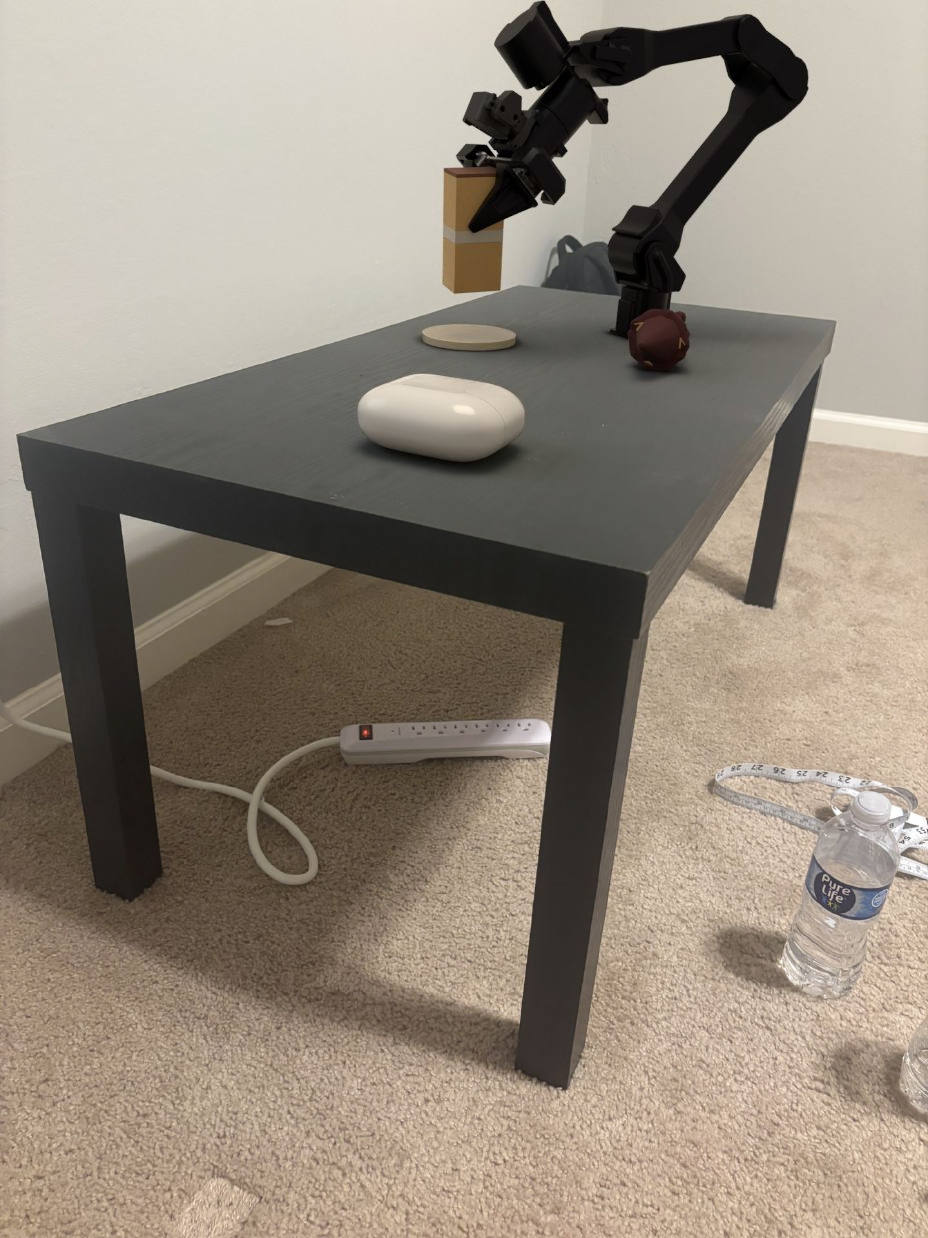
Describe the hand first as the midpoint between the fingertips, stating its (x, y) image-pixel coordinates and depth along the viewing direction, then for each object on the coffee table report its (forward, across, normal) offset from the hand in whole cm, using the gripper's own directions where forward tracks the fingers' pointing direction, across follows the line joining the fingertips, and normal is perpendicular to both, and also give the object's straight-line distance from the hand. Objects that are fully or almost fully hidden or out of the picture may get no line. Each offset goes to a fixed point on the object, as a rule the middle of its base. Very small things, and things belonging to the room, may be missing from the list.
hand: (461, 227), depth 106 cm
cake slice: (+4, 0, +6) cm, 7 cm away
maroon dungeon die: (-2, +18, +22) cm, 28 cm away
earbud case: (+22, +37, -3) cm, 44 cm away
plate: (+8, -3, +12) cm, 14 cm away
